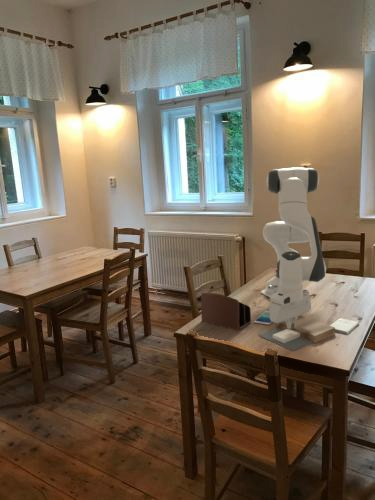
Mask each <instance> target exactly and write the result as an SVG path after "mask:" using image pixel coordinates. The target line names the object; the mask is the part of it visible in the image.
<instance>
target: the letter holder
mask: <svg viewBox="0 0 375 500" xmlns="http://www.w3.org/2000/svg"><path fill="white" fill-rule="evenodd" d="M200 296H201V297H200V299H201V302H200V306H201V322H205V323H209V324H213V325H215V326H220V327H224V328H229V329H231V330H235V331H240V330H242V329H243V328H246V327H247V326H248V325H250V324H252V323H251V322H252V318H251V317H252V316H251V314H252V313H251V307H250V306H249V305H247V304H245V303H243V302H240V301H239V300H238V299H237V298H234V297H230V296H227V295H223V294H219V293H212V292H210V293H209V292H202V293H201V295H200Z"/></svg>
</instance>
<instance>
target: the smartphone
mask: <svg viewBox="0 0 375 500" xmlns="http://www.w3.org/2000/svg"><path fill="white" fill-rule="evenodd" d="M253 323H254V324H258V325H265V326H270V325H271V324H273V323H274V322H272V321H271V320H270V310H264V311H263V312H262V313H261V314H260V315H259V316H258V317H257V318H256V319H255V320H254V321H253Z"/></svg>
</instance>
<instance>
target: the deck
mask: <svg viewBox="0 0 375 500" xmlns="http://www.w3.org/2000/svg"><path fill="white" fill-rule="evenodd" d="M291 319H292V318H291ZM290 322H291V321H290ZM275 328H280V329H283V330H286V329H289V328H287V323H286V322H285V321H283V322H280V323H275ZM291 330H293V331H296V332H299V333H300V337H303V338H305V339H308V340H310V341H313V343H314V344H317V343H319V342H321V341H323V340H326V339H328V338H330V337H332V336H335V335H336V332H335V327H332V326H330V325H328V324H327V323H324V322H320V321H318V320H314V319H311V318H308V317H305V316H303V315H299V316H298V318H297V321H296V323H295V327H293V328H291ZM313 343H312V344H313Z"/></svg>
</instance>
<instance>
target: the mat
mask: <svg viewBox="0 0 375 500" xmlns="http://www.w3.org/2000/svg"><path fill="white" fill-rule="evenodd" d="M281 331H283V329H280V328H276V327H275V328H272V329H271V330H270V329H269V330H267V331H265V332H262V333H260V334H258V336H259V337H261V338H263V339H264V340H267V341H270V342H272V343H274V344H277V345H278V346H281V347H283V348H286V349H288V350H290V351H292V352H294V351H297V350H299V349H301V348H303V347H306V346H308V345H310V344H313V341H310V340H308V339H305V338H303V337H298V338H296V339H293V340H291V341H288V342H286V343H283V342H280V341H278V340H276V339H273V334H276V333H278V332H281Z"/></svg>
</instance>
